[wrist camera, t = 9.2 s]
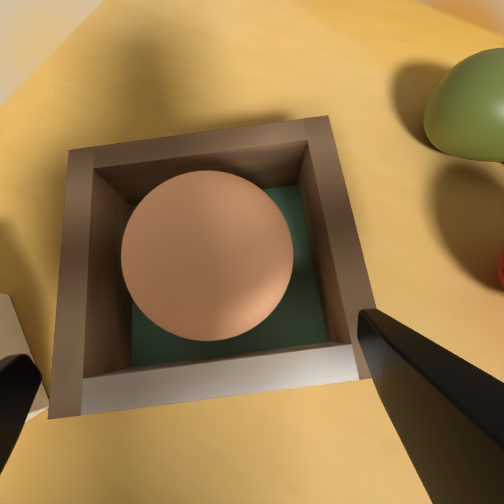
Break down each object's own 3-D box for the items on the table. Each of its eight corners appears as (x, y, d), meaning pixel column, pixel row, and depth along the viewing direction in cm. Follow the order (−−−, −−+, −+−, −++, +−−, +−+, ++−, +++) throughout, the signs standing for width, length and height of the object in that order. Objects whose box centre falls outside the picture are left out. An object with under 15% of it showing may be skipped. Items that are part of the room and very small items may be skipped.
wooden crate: (350, 361, 15) (393, 375, 10) (118, 392, 15) (47, 419, 10) (311, 173, 18) (328, 115, 13) (120, 199, 18) (68, 149, 13)
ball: (239, 362, 14) (222, 404, 7) (132, 288, 15) (31, 265, 8) (308, 249, 15) (348, 198, 9) (205, 188, 16) (168, 97, 10)
